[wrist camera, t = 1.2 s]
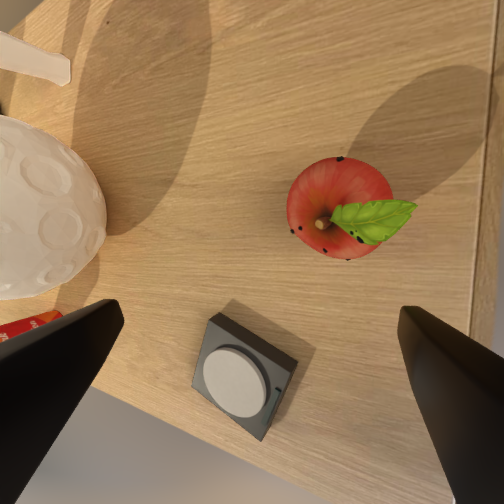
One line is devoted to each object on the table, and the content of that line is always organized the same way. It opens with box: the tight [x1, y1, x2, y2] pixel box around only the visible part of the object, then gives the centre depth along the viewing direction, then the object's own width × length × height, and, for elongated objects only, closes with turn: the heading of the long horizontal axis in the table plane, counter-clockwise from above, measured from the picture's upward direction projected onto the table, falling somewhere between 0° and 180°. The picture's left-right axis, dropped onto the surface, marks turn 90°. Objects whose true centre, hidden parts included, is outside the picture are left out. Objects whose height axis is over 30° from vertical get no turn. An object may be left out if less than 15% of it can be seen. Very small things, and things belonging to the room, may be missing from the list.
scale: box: [191, 313, 298, 442], centre depth 30 cm, size 10×10×3 cm
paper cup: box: [0, 310, 62, 342], centre depth 45 cm, size 8×8×14 cm
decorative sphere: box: [0, 115, 107, 300], centre depth 30 cm, size 20×20×20 cm
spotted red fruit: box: [287, 156, 418, 261], centre depth 17 cm, size 8×7×10 cm
